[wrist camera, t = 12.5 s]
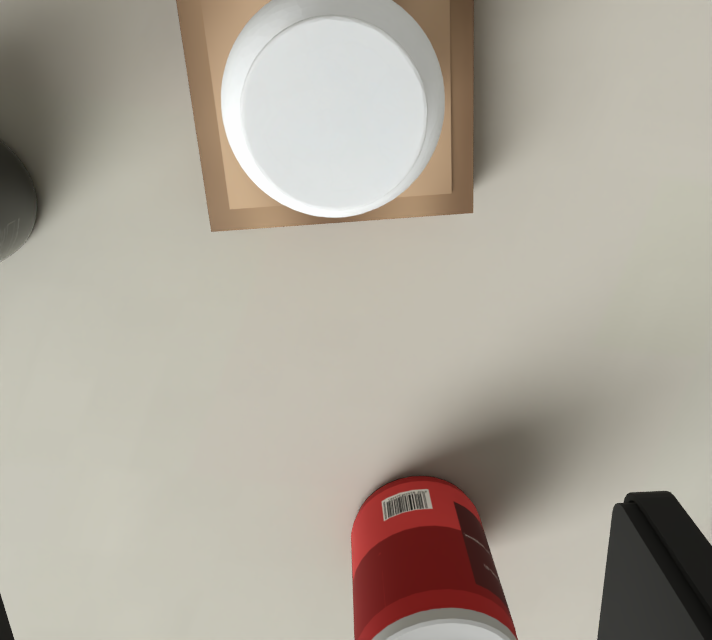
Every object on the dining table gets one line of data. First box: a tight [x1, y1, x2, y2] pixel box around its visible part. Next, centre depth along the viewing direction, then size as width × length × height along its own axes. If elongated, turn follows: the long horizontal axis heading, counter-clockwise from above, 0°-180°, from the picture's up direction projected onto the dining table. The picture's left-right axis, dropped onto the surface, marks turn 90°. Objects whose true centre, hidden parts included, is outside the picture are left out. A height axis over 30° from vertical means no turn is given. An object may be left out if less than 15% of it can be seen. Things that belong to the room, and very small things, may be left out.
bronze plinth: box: [176, 0, 474, 232], centre depth 30 cm, size 12×12×3 cm
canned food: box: [351, 476, 518, 640], centre depth 36 cm, size 8×8×11 cm
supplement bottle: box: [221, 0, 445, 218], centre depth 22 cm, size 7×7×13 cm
